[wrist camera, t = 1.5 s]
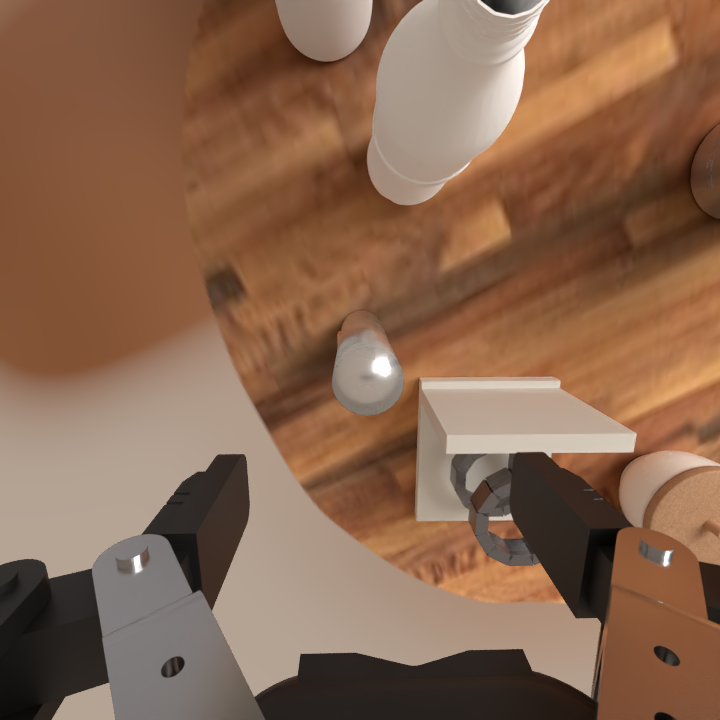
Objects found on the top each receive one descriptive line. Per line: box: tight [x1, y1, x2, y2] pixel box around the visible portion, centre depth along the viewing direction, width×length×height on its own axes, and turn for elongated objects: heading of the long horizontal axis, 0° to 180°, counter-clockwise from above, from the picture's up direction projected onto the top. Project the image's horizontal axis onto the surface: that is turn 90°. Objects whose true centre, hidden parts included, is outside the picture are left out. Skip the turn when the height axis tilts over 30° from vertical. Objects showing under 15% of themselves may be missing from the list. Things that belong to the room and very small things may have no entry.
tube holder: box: [415, 377, 637, 521], centre depth 36 cm, size 14×16×12 cm
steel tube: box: [332, 310, 404, 416], centre depth 30 cm, size 4×4×18 cm
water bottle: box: [367, 0, 549, 205], centre depth 24 cm, size 7×7×25 cm
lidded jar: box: [619, 450, 720, 565], centre depth 39 cm, size 11×11×9 cm
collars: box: [450, 453, 540, 566], centre depth 35 cm, size 8×11×8 cm
